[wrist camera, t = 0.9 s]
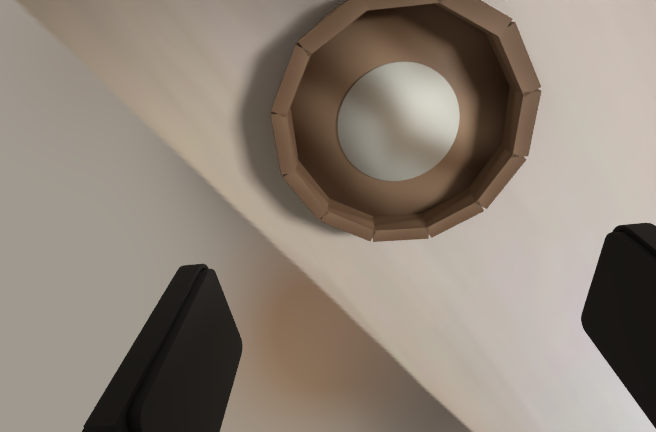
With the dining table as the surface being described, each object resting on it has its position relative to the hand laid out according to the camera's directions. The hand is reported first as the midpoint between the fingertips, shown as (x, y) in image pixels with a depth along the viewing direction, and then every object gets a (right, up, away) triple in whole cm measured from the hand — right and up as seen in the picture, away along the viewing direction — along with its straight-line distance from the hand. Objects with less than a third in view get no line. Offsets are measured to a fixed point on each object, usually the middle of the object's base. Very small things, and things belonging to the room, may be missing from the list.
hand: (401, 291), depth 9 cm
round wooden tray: (+4, +10, +22) cm, 24 cm away
